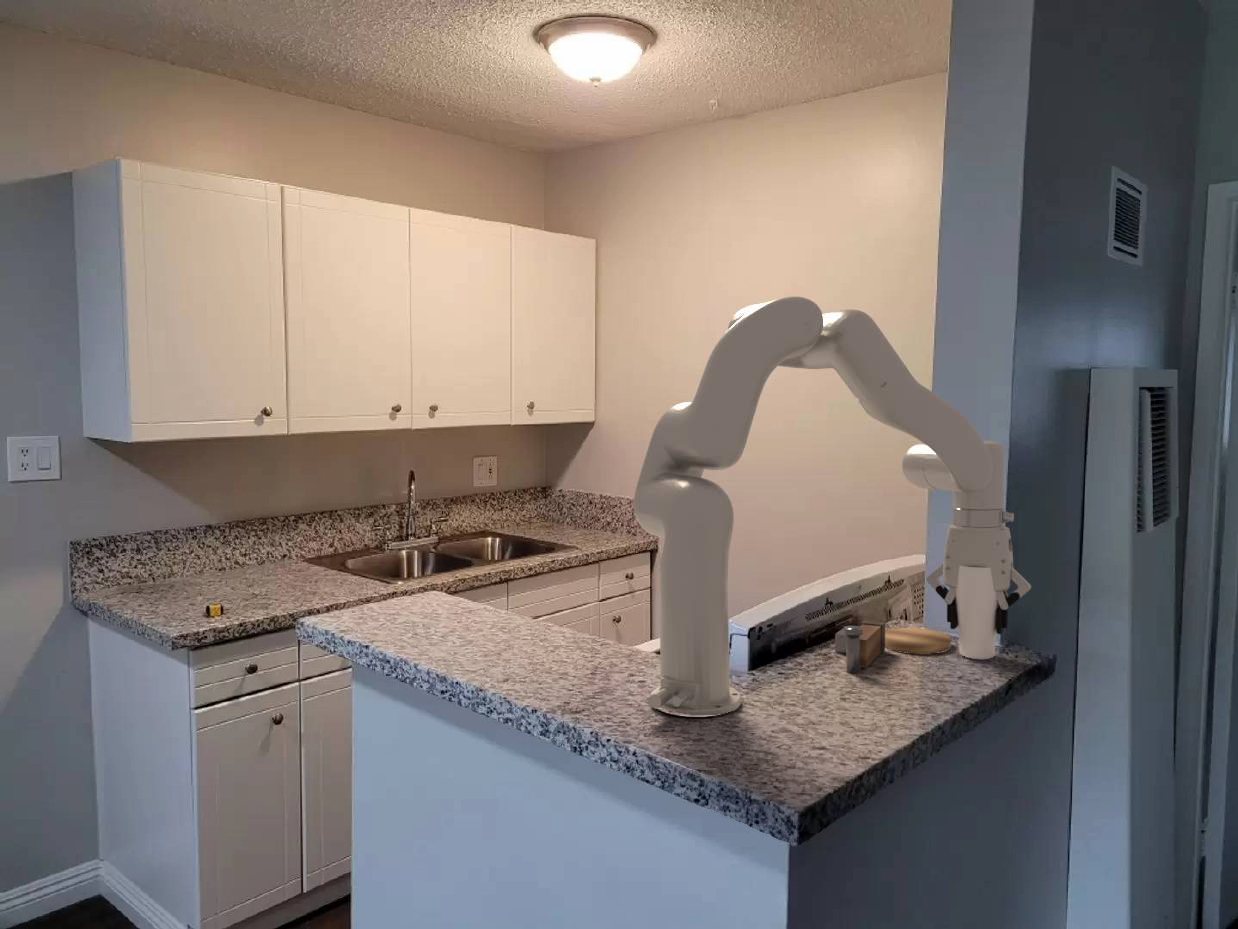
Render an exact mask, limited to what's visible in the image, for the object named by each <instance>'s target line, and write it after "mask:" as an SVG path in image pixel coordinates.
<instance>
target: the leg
mask: <svg viewBox="0 0 1238 929" xmlns="http://www.w3.org/2000/svg"><path fill="white" fill-rule="evenodd" d="M859 627H862V628H863V634H862V635H860V668H864V669H867V668H868V667H869V666H870V665H871V664H872V663H873V662H874V660H876V659H877V658H878V656H879V655H881V653H884V652H885V651H886V647H885V631H886V622H885V621H876V620H868V619H867V620H866V619H864V620H863V621H862V622H861V623H860V626H859Z"/></svg>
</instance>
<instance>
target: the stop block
mask: <svg viewBox="0 0 1238 929" xmlns="http://www.w3.org/2000/svg"><path fill="white" fill-rule="evenodd" d="M834 636H835V637H834V641H835V642H834V644H835V648H834V649H835V651H834V652H835V653H840V654H841V653H842V654H846V634H844V628H841V629H840V630H839V631H837V632H836V633H835V634H834Z"/></svg>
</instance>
